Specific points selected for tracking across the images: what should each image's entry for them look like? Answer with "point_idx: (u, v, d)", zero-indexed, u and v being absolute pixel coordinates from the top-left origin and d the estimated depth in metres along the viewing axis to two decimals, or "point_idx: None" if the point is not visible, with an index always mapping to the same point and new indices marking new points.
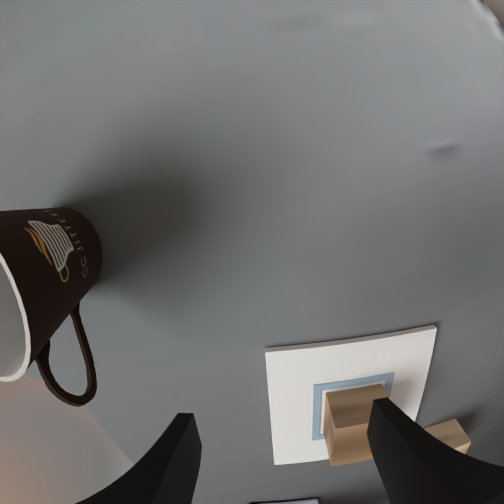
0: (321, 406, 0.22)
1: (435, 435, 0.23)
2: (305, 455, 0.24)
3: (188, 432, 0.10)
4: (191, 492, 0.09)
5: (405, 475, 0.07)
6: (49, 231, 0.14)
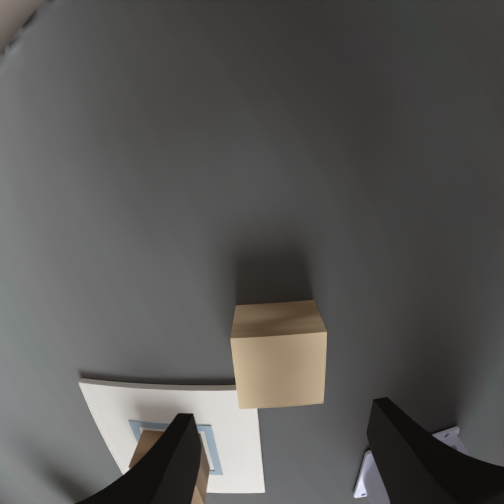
0: None
1: None
2: (250, 477, 0.22)
3: (188, 432, 0.10)
4: (191, 492, 0.09)
5: (405, 475, 0.07)
6: None
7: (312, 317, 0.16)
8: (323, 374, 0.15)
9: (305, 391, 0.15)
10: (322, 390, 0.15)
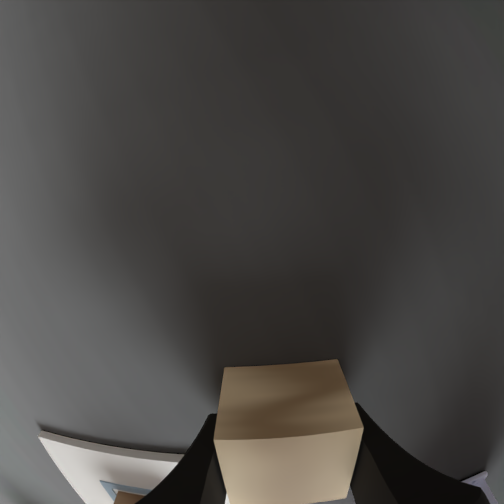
0: None
1: None
2: None
3: None
4: (224, 493, 0.09)
5: (368, 484, 0.07)
6: None
7: (339, 397, 0.10)
8: (350, 472, 0.09)
9: (323, 490, 0.09)
10: (346, 487, 0.09)
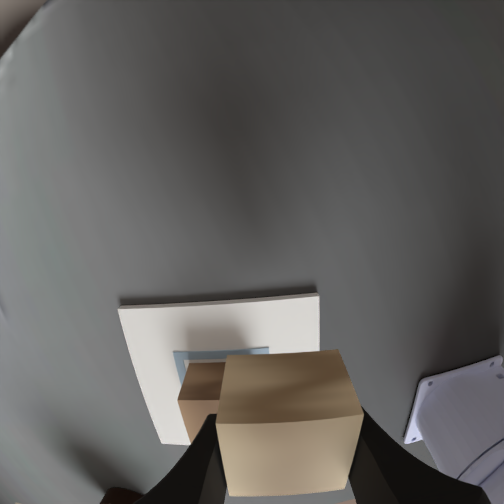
0: None
1: None
2: None
3: None
4: (223, 494, 0.09)
5: (369, 484, 0.07)
6: None
7: (340, 385, 0.10)
8: (350, 461, 0.09)
9: (322, 480, 0.09)
10: (345, 477, 0.09)
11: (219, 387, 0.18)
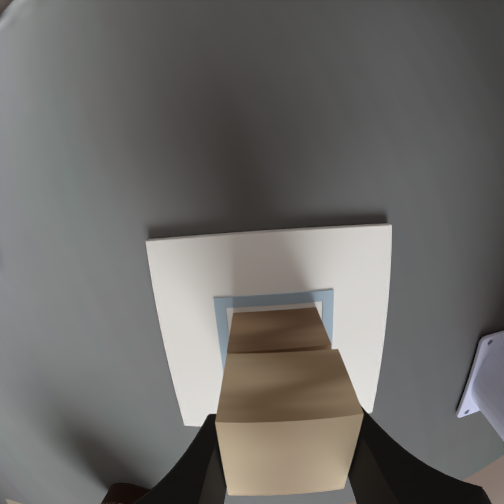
0: None
1: None
2: (362, 384, 0.18)
3: None
4: (223, 494, 0.09)
5: (369, 484, 0.07)
6: None
7: (339, 384, 0.10)
8: (349, 461, 0.09)
9: (321, 479, 0.09)
10: (344, 477, 0.09)
11: (280, 335, 0.14)
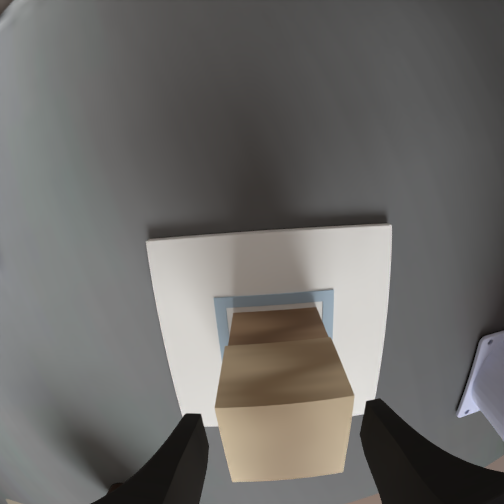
0: None
1: None
2: (362, 384, 0.18)
3: (196, 432, 0.10)
4: (199, 493, 0.09)
5: (396, 477, 0.07)
6: None
7: (332, 369, 0.11)
8: (345, 443, 0.10)
9: (320, 463, 0.10)
10: (342, 460, 0.10)
11: (280, 335, 0.14)
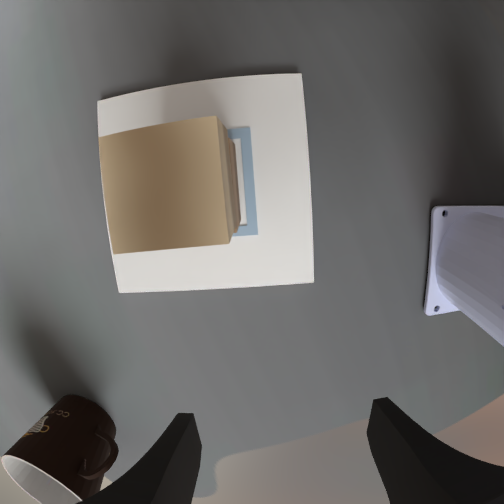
0: None
1: None
2: (295, 239, 0.19)
3: (188, 432, 0.10)
4: (191, 492, 0.09)
5: (405, 475, 0.07)
6: None
7: None
8: (220, 187, 0.11)
9: (198, 220, 0.11)
10: (223, 217, 0.11)
11: None
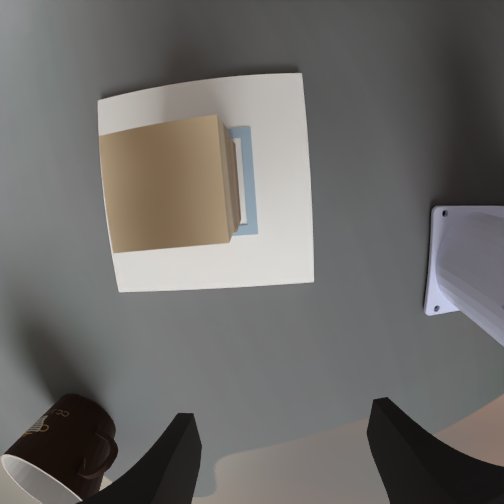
0: None
1: None
2: (295, 239, 0.19)
3: (188, 432, 0.10)
4: (191, 492, 0.09)
5: (405, 475, 0.07)
6: None
7: None
8: (221, 186, 0.11)
9: (198, 219, 0.11)
10: (223, 216, 0.11)
11: None
